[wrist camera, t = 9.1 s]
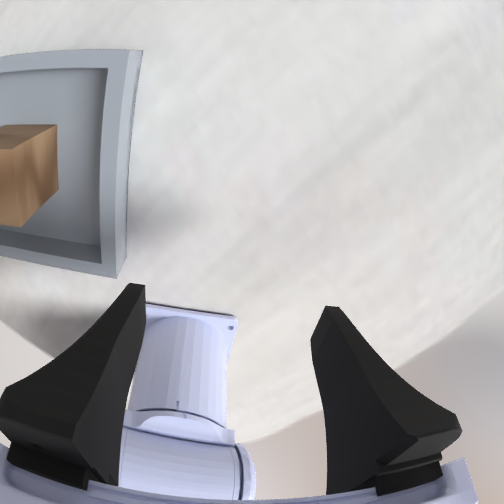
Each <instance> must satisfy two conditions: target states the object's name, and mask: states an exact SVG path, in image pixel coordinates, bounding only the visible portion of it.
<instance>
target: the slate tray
mask: <svg viewBox="0 0 504 504" xmlns="http://www.w3.org/2000/svg"><path fill="white" fill-rule="evenodd" d="M142 55H143V51H142V50H118V49H84V50H60V51H46V52H35V53H26V54H17V55H10V56H3V57H0V127H2V126H4V125H17V124H57V159H58V184H59V190H58V191H57V192H56V193H55V194H54V195H53V196H52V197H50V198H49V199H48V200H47V201H46V202H45V203H44V204H43V205H42V206H41V207H40V208H39V209H38V210H37V211H36V212H35V213H34V214H33V215H32V216H31V217H30V218H29V220H28V221H27V222H26V223H25V224H24V225H23V226H22V227H21V228H19V227H13V226H6V225H0V256H5V257H9V258H14V259H18V260H23V261H28V262H32V263H37V264H42V265H47V266H52V267H57V268H62V269H67V270H72V271H77V272H83V273H88V274H93V275H99V276H104V277H110V278H115V279H117V277H118V275H119V272H120V270H121V268H122V265H123V263H124V261H125V259H126V218H127V190H128V172H129V158H130V146H131V135H132V125H133V116H134V108H135V100H136V93H137V85H138V79H139V72H140V66H141V60H142Z"/></svg>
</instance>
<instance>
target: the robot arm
mask: <svg viewBox="0 0 504 504" xmlns="http://www.w3.org/2000/svg"><path fill="white" fill-rule="evenodd" d="M230 326H232V327H230ZM237 326H238V319H237V318H236V317H233V316H226V315H219V314H211V313H204V312H197V311H190V310H183V309H176V308H170V307H164V306H157V305H151V304H146V301H145V285H141V284H134V283H129V284H128V285H127V286H126V287H125V289H124V290H123V291H122V293H121V294H120V295H119V296H118V298H117V299H116V300H115V301H114V302H113V304H112V305H111V306H110V307H109V308H108V309H107V310H106V312H105V313H104V314H103V315H102V316H101V317H100V318H99V319H98V320H97V322H96V323H95V324H94V325H93V326H92V327H91V328H90V329H89V330H88V331H87V332H86V333H85V334H84V335H83V336H82V337H80V338H79V339H78V340H77V341H76V342H75V343H74V344H73V345H71V346H70V347H69V348H68V349H67V350H65V351H64V352H63V353H62V354H60V355H59V356H58V357H56V358H55V359H54V360H52V361H51V362H50V363H48V364H47V365H45V366H43V367H42V368H40V369H39V370H37V371H36V372H34V373H33V374H31V375H29V376H28V377H26V378H24V379H22V380H20V381H18V382H16V383H14V384H12V385H10V386H8V387H6V389H5V390H4V392H3V394H2V396H1V398H0V431H1V432H2V433H3V434H4V435H5V436H6V437H7V438H8V439H9V440H10V441H11V445H10V448H8V447H6V446H4V445H3V444H1V443H0V504H477V503H478V502H479V501H478V498H477V494H476V491H475V488H474V484H473V482H472V478H471V475H470V472H469V469H468V466H467V464H466V461H465V458H461V459H458V460H455V461H452V462H449V463H447V464H444V465H442V466H440V463H439V461H440V460H442V455H441V451H443V450H444V449H445V448H447V447H448V446H449V445H451V444H452V443H453V442H454V441H456V440H457V439H458V438H459V437H460V435H461V433H462V429H461V427H460V424H459V422H458V419H457V417H456V414H454V413H452V412H450V411H449V410H447V409H445V408H443V407H441V406H440V405H438V404H436V403H435V402H433V401H432V400H430V399H428V398H427V397H425V396H424V395H423V394H421V393H420V392H418V391H417V390H416V389H414V388H413V387H412V386H411V385H409V384H408V383H407V382H406V381H405V380H404V379H402V378H401V377H400V376H399V375H398V374H397V373H396V372H395V371H394V370H393V369H392V368H391V367H390V366H389V365H388V364H387V363H386V362H385V361H384V360H383V359H382V358H381V357H380V356H379V355H378V354H377V353H376V352H375V350H374V349H373V348H372V347H371V346H370V345H369V343H368V342H367V341H366V340H365V339H364V337H363V336H362V335H361V334H360V332H359V331H358V330H357V329H356V327H355V326H354V325H353V324H352V322H351V321H350V320H349V319H348V317H347V316H346V315H345V314H344V312H343V311H342V310H341V309H340V308H339V307H333V306H325V308H324V310H323V313H322V315H321V317H320V319H319V321H318V324H317V326H316V328H315V330H314V332H313V335H312V337H311V339H310V340H311V352H312V361H313V366H314V370H315V374H316V379H317V383H318V387H319V392H320V396H321V400H322V405H323V410H324V418H325V427H326V442H327V491H326V495H323V496H315V497H305V498H293V499H274V500H254V498H255V492H256V470H255V465H254V461H253V459H252V457H251V455H250V454H249V453H248V451H247V449H246V448H245V447H244V446H243V445H242V444H239V443H235V431H234V430H230V429H227V423H226V366H227V362H228V359H229V355H230V352H231V348H232V344H233V341H234V337H235V333H236V330H237ZM138 357H139V358H138ZM137 360H138V362H137ZM136 364H137V367H136ZM135 367H136V371H135V376H134V380H133V385H132V390H131V395H130V400H129V405H128V410H125V408H126V401H127V396H128V392H129V388H130V384H131V381H132V377H133V374H134V370H135Z"/></svg>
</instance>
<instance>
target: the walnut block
mask: <svg viewBox="0 0 504 504" xmlns="http://www.w3.org/2000/svg"><path fill="white" fill-rule="evenodd" d="M58 190H59V184H58V159H57V124H17V125H4V126H2V127H0V225H6V226H13V227H19V228H21V227H22V226H23V225H24V224H25V223H26V222H27V221H28V220H29V218H30V217H31V216H32V215H33V214H34V213H35V212H36V211H37V210H38V209H39V208H40V207H41V206H42V205H43V204H44V203H45V202H46V201H47V200H48V199H49V198H50V197H52V196H53V195H54V194H55V193H56V192H57V191H58Z"/></svg>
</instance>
